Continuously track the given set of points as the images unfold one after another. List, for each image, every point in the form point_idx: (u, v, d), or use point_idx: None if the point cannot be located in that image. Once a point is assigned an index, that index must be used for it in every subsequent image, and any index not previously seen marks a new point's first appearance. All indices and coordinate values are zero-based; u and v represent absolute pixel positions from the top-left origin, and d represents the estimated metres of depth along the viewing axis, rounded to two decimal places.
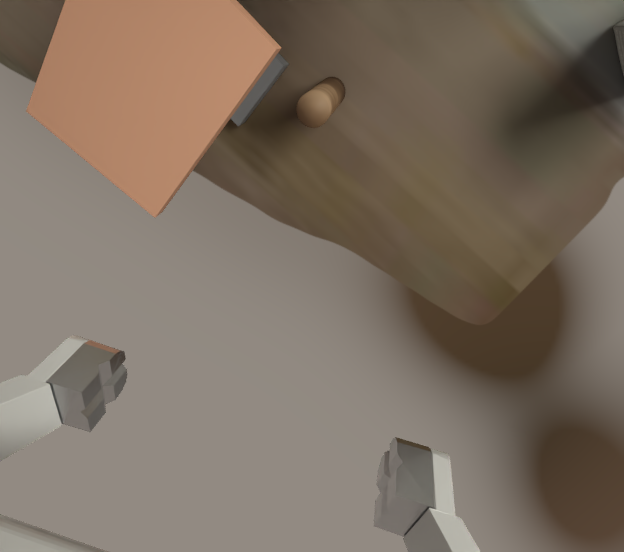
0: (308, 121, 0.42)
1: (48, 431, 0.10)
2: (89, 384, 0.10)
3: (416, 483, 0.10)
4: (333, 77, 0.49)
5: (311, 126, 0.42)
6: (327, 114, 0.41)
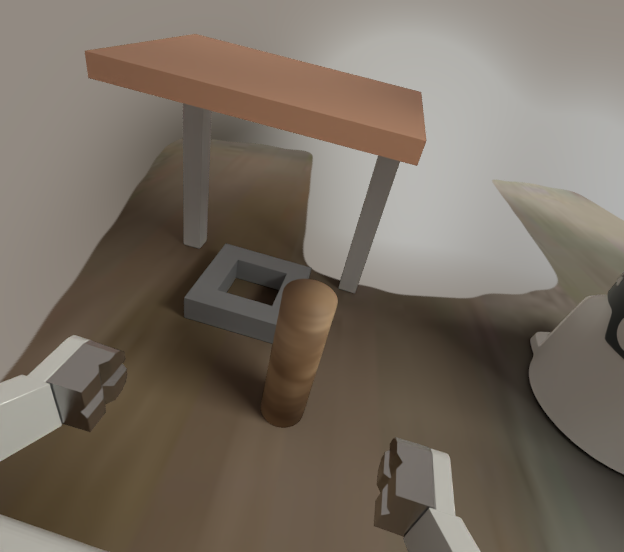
0: (291, 295, 0.24)
1: (48, 431, 0.10)
2: (89, 384, 0.10)
3: (417, 483, 0.10)
4: None
5: (286, 300, 0.24)
6: (318, 314, 0.23)
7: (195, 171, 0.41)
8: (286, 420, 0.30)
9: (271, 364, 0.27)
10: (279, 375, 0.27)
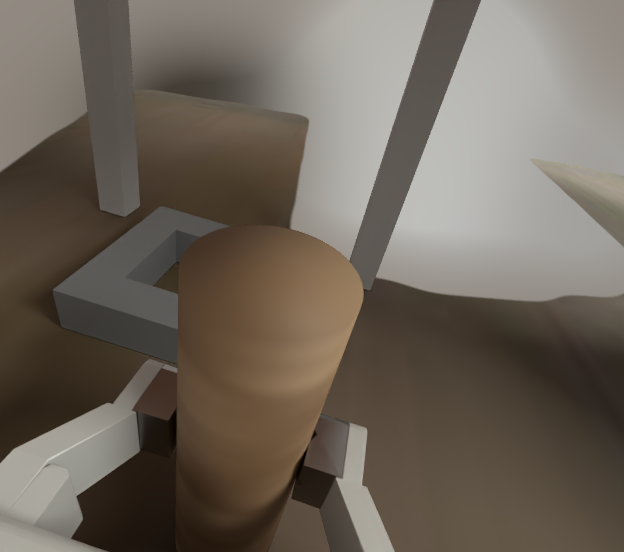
0: (209, 266, 0.07)
1: (128, 458, 0.10)
2: (174, 412, 0.10)
3: (327, 455, 0.10)
4: None
5: (187, 281, 0.07)
6: (299, 333, 0.06)
7: (102, 77, 0.24)
8: None
9: (177, 460, 0.10)
10: (195, 496, 0.10)
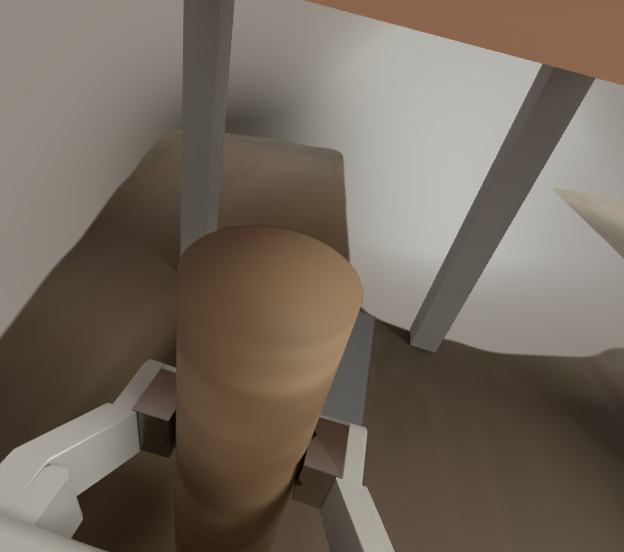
0: (208, 267, 0.07)
1: (128, 458, 0.10)
2: (174, 411, 0.10)
3: (328, 454, 0.10)
4: None
5: (185, 283, 0.07)
6: (297, 334, 0.06)
7: (200, 165, 0.26)
8: None
9: (176, 462, 0.10)
10: (194, 497, 0.10)
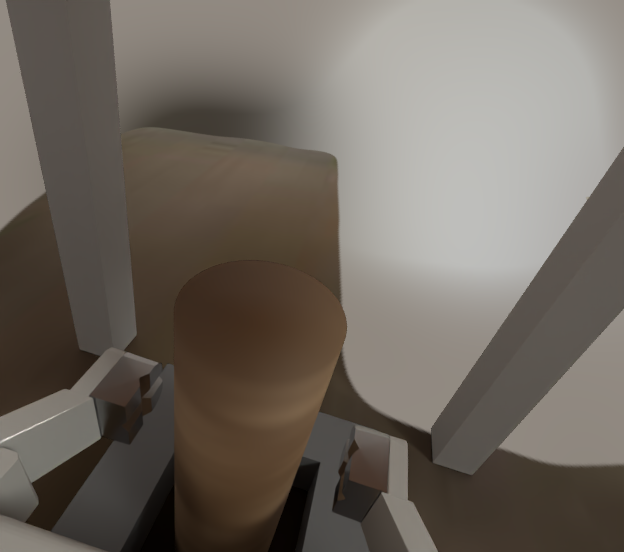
0: (202, 306, 0.08)
1: (88, 444, 0.10)
2: (131, 398, 0.10)
3: (371, 469, 0.10)
4: None
5: (182, 323, 0.07)
6: (284, 372, 0.07)
7: (75, 190, 0.15)
8: None
9: (175, 479, 0.11)
10: (192, 513, 0.10)
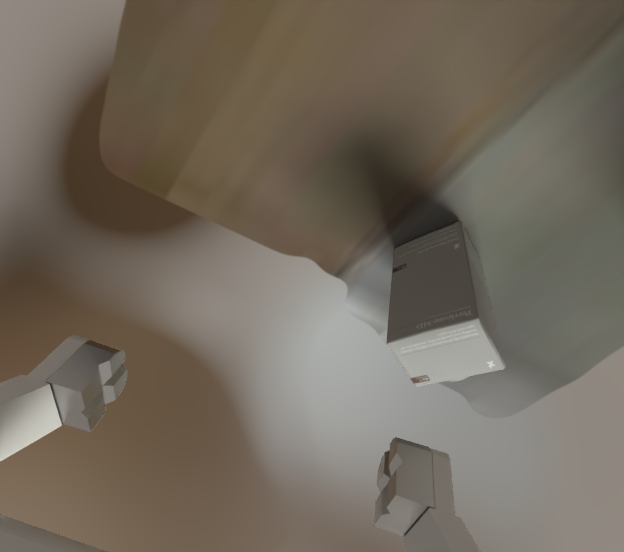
0: None
1: (48, 431, 0.10)
2: (89, 384, 0.10)
3: (416, 484, 0.10)
4: None
5: None
6: None
7: None
8: None
9: None
10: None
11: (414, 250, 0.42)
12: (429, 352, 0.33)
